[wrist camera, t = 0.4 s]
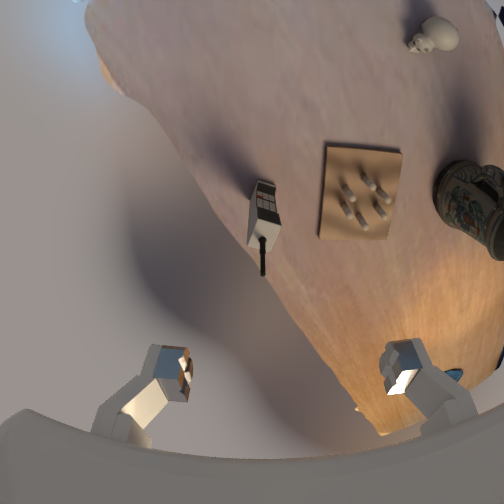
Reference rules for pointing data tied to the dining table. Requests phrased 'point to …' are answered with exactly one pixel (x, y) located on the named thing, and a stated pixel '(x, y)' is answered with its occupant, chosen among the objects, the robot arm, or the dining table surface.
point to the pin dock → (358, 193)
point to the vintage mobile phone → (263, 220)
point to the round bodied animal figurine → (435, 36)
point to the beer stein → (473, 202)
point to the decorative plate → (455, 374)
